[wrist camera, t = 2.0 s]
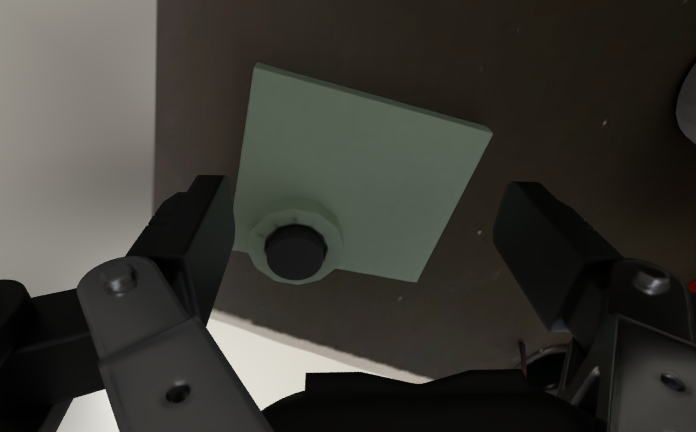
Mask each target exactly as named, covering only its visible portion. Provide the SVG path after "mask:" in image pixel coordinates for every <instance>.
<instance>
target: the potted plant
mask: <svg viewBox="0 0 696 432" xmlns="http://www.w3.org/2000/svg"><path fill="white" fill-rule="evenodd" d="M676 117H677V121H678V125H679V127H680V128H681V130H682V131H683V133H684V134H685V135H686V136H687V137H688V138H689V139H690V140H691V141H692V142H693V143H694V144H696V63H695V64H694V66H693V67H692V69H691V71H690V72H689V74H688V75H687V77H686V79H685V80H684V82H683V85H682V88H681V90H680V93H679V96H678V101H677V108H676Z"/></svg>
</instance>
